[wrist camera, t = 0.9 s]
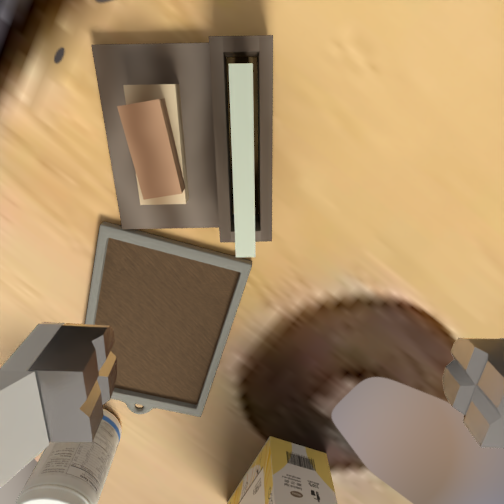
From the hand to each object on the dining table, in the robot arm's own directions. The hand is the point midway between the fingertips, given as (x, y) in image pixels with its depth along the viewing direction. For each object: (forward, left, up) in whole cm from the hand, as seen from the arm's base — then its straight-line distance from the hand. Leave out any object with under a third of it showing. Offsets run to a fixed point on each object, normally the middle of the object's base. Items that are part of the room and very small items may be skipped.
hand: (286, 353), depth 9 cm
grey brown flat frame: (+14, +26, -37) cm, 47 cm away
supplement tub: (+26, +43, -36) cm, 62 cm away
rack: (+7, 0, -36) cm, 37 cm away
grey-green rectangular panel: (+1, 0, -36) cm, 36 cm away
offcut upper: (+10, 0, -32) cm, 34 cm away
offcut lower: (+10, 0, -35) cm, 36 cm away
